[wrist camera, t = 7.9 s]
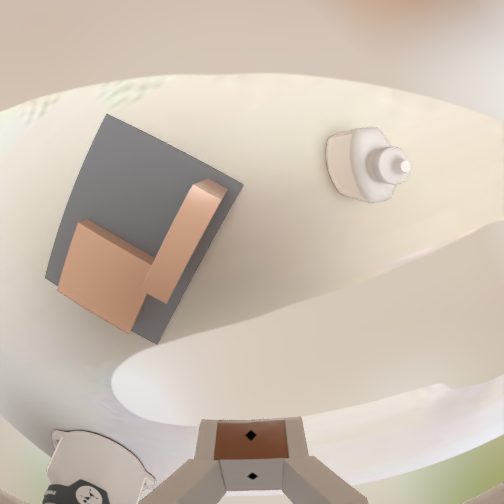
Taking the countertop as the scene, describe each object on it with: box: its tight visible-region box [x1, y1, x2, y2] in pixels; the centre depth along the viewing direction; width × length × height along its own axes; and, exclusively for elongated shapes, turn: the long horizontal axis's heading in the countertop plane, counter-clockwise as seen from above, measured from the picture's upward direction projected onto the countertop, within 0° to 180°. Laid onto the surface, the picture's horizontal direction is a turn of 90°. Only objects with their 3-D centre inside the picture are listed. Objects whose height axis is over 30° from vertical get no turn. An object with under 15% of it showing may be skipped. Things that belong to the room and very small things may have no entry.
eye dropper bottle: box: [326, 127, 411, 203], centre depth 22 cm, size 4×6×12 cm
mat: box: [45, 114, 243, 344], centre depth 29 cm, size 19×15×1 cm
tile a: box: [57, 219, 155, 334], centre depth 28 cm, size 8×2×9 cm
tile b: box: [141, 178, 228, 304], centre depth 24 cm, size 8×2×9 cm, turn 150°
